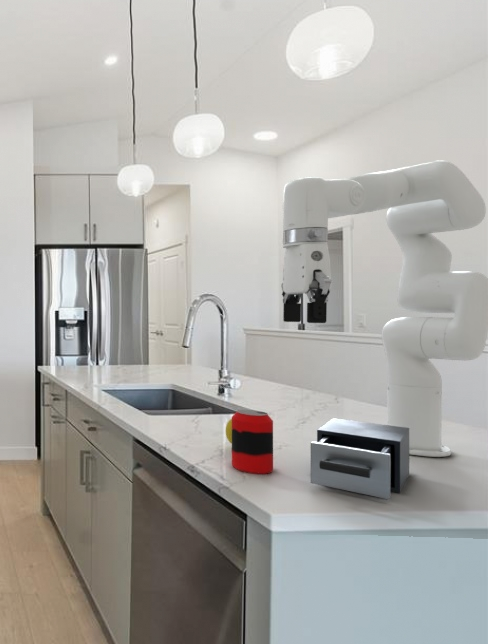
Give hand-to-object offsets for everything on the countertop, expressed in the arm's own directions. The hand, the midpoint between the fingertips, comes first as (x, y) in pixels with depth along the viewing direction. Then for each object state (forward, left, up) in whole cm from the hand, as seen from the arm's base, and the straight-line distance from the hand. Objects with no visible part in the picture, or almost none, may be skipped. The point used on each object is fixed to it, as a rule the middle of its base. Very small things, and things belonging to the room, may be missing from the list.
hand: (303, 322), depth 103 cm
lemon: (-10, -15, -32) cm, 36 cm away
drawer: (+4, +9, -30) cm, 32 cm away
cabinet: (-7, +9, -31) cm, 33 cm away
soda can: (+4, -8, -32) cm, 33 cm away
